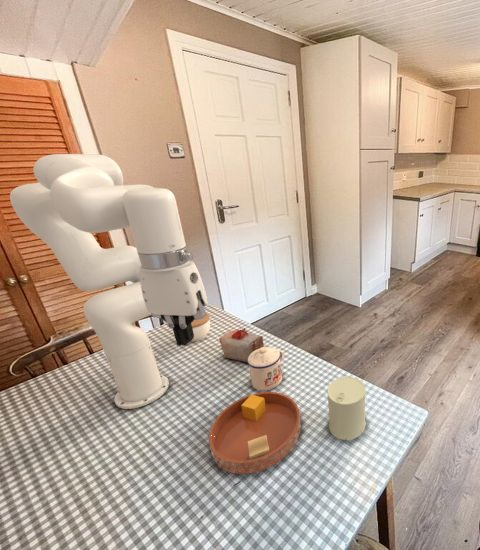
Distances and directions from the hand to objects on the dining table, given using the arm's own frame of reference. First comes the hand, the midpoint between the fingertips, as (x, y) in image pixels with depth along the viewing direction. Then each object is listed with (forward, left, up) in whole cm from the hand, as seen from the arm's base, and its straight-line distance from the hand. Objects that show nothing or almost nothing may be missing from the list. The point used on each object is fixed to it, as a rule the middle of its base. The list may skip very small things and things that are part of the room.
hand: (185, 341), depth 63 cm
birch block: (+14, +7, -26) cm, 31 cm away
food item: (-26, +18, -27) cm, 42 cm away
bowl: (+7, +9, -27) cm, 29 cm away
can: (+19, +27, -27) cm, 43 cm away
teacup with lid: (-10, +20, -27) cm, 35 cm away
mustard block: (+1, +11, -26) cm, 29 cm away
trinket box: (-49, +9, -27) cm, 57 cm away
